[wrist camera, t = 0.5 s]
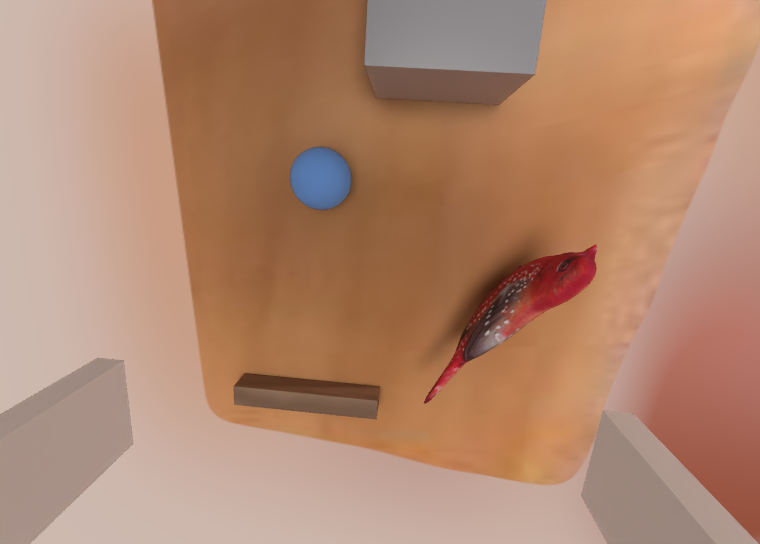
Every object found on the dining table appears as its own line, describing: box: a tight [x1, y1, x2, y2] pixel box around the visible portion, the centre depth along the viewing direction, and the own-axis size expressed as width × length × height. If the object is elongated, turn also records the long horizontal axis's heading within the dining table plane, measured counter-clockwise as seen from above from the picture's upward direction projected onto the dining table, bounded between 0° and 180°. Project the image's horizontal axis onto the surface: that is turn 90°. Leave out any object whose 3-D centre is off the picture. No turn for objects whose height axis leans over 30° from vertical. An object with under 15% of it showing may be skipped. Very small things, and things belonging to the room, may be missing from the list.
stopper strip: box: [234, 373, 380, 419], centre depth 37 cm, size 2×14×2 cm, turn 86°
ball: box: [290, 147, 352, 210], centre depth 30 cm, size 5×5×5 cm
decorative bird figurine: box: [424, 245, 597, 404], centre depth 30 cm, size 3×18×10 cm, turn 141°
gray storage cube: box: [364, 0, 546, 105], centre depth 25 cm, size 10×10×9 cm
